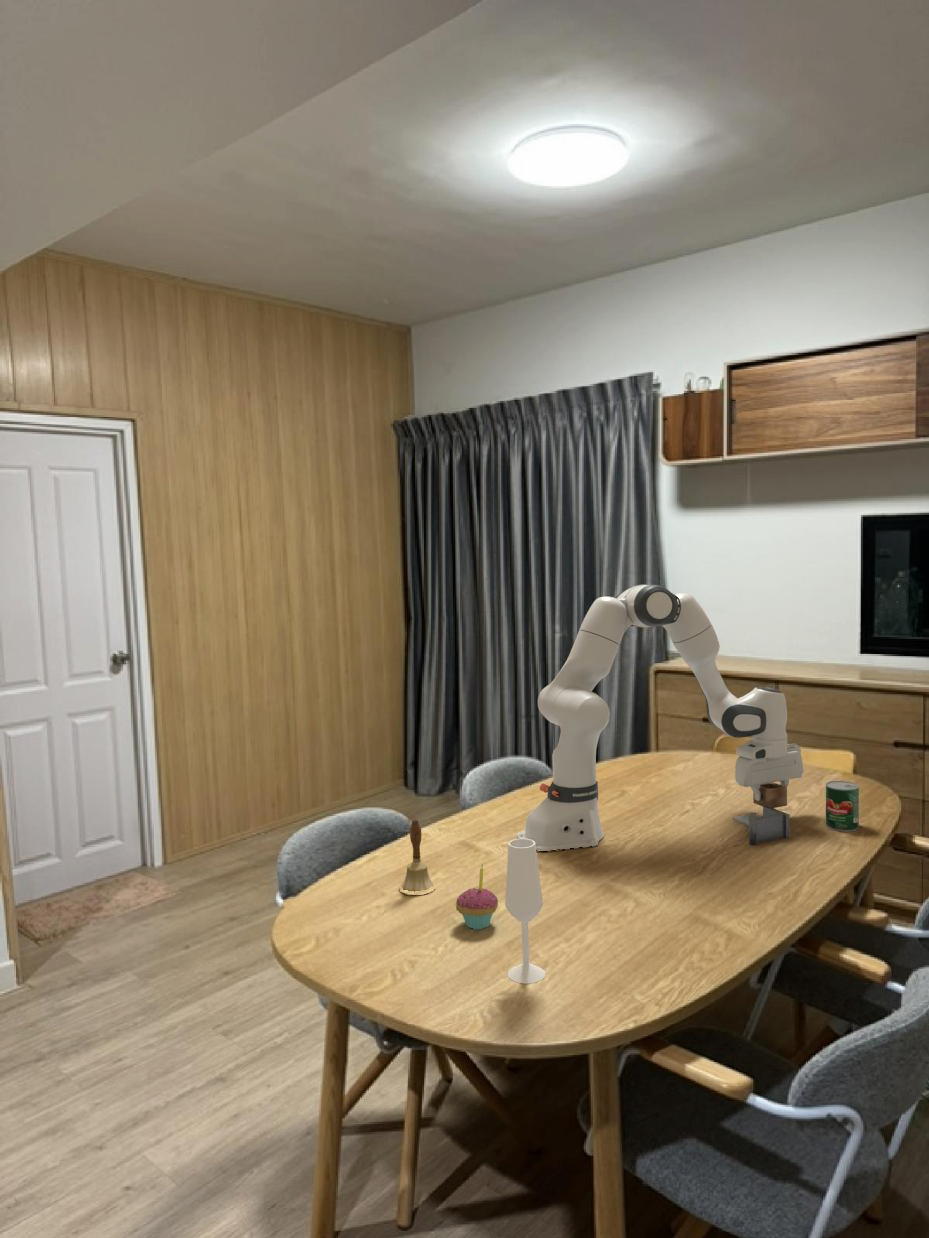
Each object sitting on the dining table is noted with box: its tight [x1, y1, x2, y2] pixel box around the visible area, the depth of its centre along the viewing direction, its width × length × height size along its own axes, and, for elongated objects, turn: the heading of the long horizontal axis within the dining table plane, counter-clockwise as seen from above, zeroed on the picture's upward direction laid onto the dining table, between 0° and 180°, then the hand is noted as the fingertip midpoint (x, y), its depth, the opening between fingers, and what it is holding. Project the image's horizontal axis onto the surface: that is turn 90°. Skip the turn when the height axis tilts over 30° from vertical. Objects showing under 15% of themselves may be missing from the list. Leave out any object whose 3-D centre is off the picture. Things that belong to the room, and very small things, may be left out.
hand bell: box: [400, 818, 434, 892], centre depth 191 cm, size 8×8×16 cm
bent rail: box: [748, 806, 791, 846], centre depth 215 cm, size 12×8×8 cm
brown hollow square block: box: [752, 782, 788, 809], centre depth 228 cm, size 6×6×5 cm
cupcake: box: [455, 863, 499, 930], centre depth 172 cm, size 9×8×12 cm
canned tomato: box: [825, 780, 860, 832], centre depth 220 cm, size 8×8×11 cm
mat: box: [732, 814, 762, 828], centre depth 227 cm, size 7×7×1 cm
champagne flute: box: [504, 838, 546, 985], centre depth 151 cm, size 7×7×24 cm
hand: (769, 797), depth 228 cm, fingers closed on brown hollow square block, 6 cm apart
